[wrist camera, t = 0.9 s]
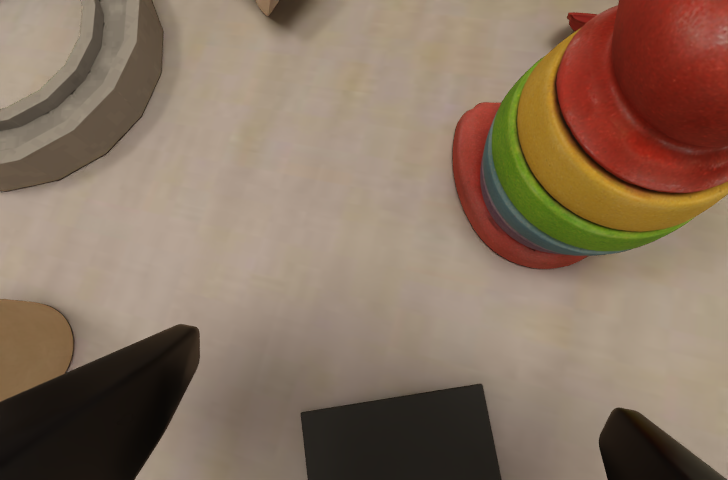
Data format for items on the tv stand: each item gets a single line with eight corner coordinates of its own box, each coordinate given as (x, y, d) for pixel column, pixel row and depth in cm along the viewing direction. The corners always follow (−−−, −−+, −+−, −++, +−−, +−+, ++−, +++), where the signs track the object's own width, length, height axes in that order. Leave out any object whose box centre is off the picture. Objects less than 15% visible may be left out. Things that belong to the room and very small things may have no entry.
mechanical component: (-91, 236, 25) (-152, 223, 22) (-138, -3, 28) (-196, -42, 26) (199, 126, 26) (178, 100, 23) (118, -87, 30) (92, -132, 27)
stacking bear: (627, 128, 26) (1141, -273, 9) (624, 286, 24) (1298, 168, 7) (457, 104, 27) (629, -323, 9) (439, 258, 24) (619, 78, 7)
